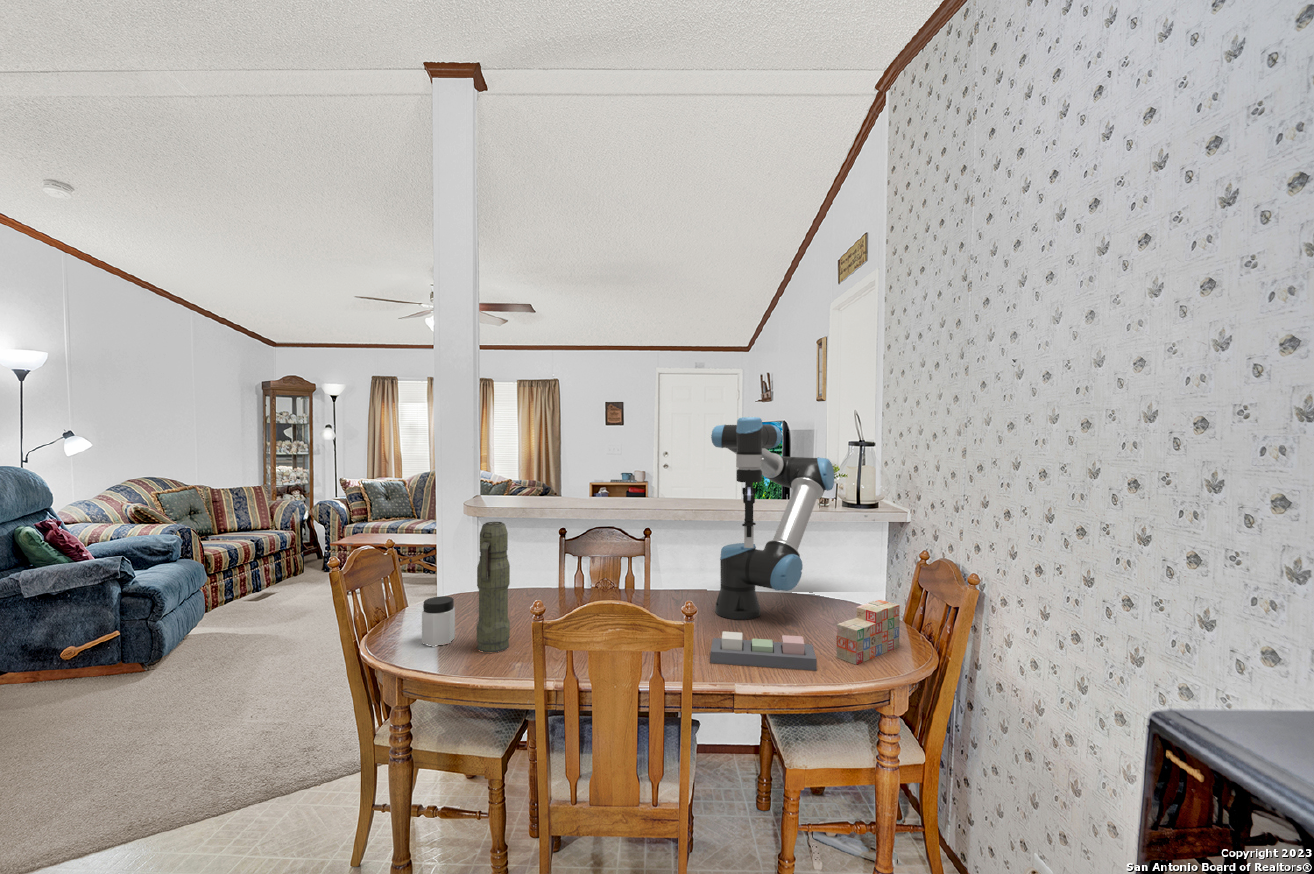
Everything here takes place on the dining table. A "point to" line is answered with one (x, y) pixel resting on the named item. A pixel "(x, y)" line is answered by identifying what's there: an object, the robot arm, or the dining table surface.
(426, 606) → the jar
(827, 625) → the dining table surface
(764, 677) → the dining table surface
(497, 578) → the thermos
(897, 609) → the stack of blocks
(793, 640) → the rose button
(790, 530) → the robot arm
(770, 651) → the sage button
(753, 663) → the button panel
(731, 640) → the white button
